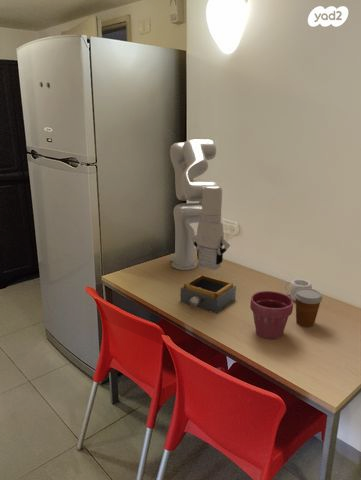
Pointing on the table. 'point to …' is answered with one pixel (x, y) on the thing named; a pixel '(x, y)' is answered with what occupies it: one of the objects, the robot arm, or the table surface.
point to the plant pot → (271, 313)
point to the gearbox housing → (208, 293)
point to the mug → (297, 286)
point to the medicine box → (208, 258)
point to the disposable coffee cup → (307, 306)
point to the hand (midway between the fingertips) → (209, 260)
